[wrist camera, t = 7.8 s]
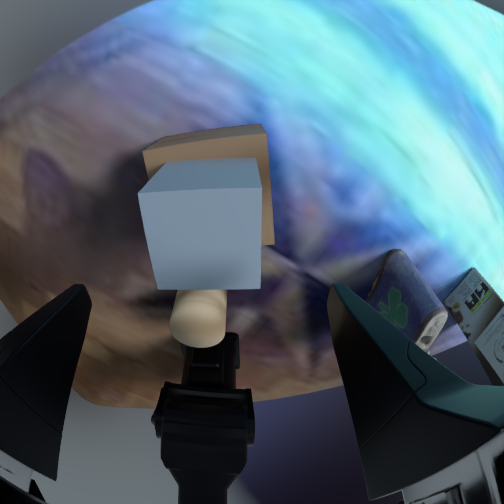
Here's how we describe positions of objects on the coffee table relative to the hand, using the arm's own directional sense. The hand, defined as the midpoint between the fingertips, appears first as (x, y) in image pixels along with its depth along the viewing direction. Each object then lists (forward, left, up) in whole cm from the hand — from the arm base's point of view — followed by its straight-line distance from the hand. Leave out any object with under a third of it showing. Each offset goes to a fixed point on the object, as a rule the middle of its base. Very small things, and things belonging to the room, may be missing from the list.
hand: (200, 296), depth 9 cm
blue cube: (0, 0, -8) cm, 8 cm away
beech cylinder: (-11, +2, -13) cm, 17 cm away
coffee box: (-14, -32, -13) cm, 37 cm away
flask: (-11, -16, -13) cm, 23 cm away
